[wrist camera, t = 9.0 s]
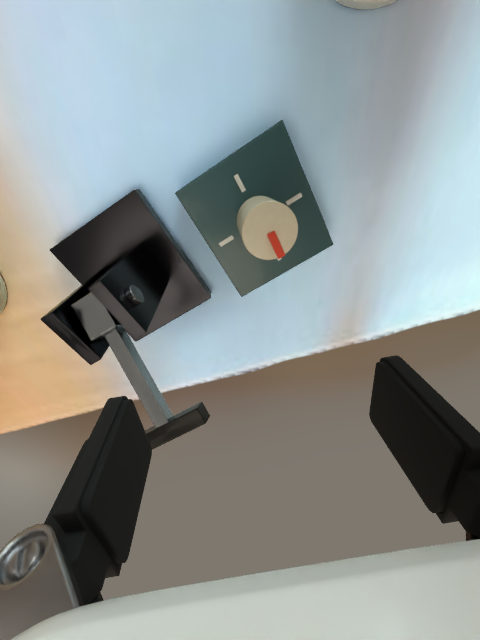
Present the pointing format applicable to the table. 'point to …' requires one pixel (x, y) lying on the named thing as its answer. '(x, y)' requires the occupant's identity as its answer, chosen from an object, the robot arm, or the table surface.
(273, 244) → the dial
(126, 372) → the lever
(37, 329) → the table surface
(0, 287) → the can
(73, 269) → the pivoting lever stand
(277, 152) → the dial panel
